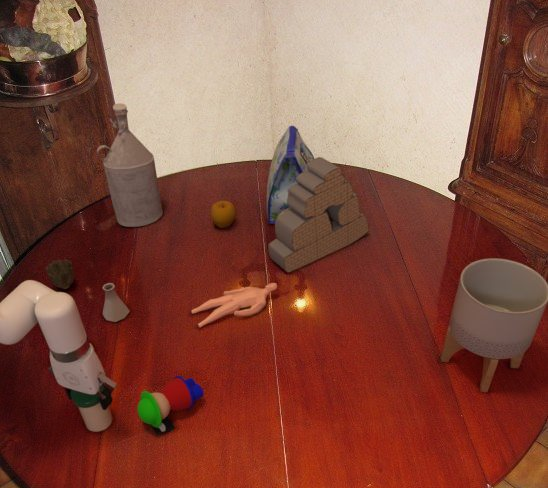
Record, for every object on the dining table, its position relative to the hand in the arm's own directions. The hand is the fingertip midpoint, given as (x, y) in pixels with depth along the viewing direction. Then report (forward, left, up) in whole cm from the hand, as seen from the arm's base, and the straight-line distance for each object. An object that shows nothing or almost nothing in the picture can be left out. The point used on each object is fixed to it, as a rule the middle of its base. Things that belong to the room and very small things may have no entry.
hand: (90, 399), depth 125 cm
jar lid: (0, 0, +3) cm, 3 cm away
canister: (+5, +86, -8) cm, 87 cm away
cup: (-15, +51, -8) cm, 54 cm away
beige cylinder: (0, 0, -8) cm, 8 cm away
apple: (+34, +76, -8) cm, 84 cm away
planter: (+94, +4, -8) cm, 94 cm away
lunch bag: (+58, +83, -8) cm, 102 cm away
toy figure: (+17, 0, -8) cm, 19 cm away
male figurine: (+35, +34, -8) cm, 49 cm away
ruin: (+63, +59, -8) cm, 87 cm away
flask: (+1, +37, -8) cm, 38 cm away
